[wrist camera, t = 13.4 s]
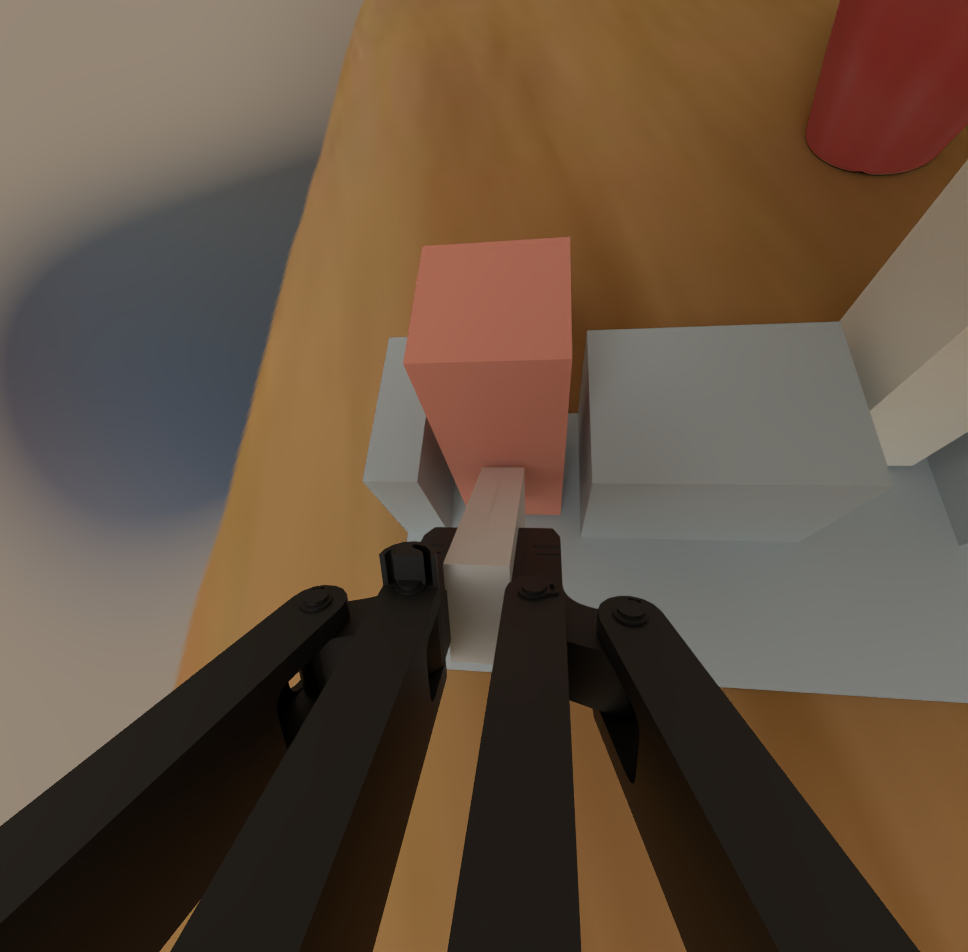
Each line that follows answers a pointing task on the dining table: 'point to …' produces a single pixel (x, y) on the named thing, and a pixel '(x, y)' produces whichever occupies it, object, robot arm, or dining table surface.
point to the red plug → (496, 359)
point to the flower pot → (891, 85)
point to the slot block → (735, 508)
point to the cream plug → (917, 334)
